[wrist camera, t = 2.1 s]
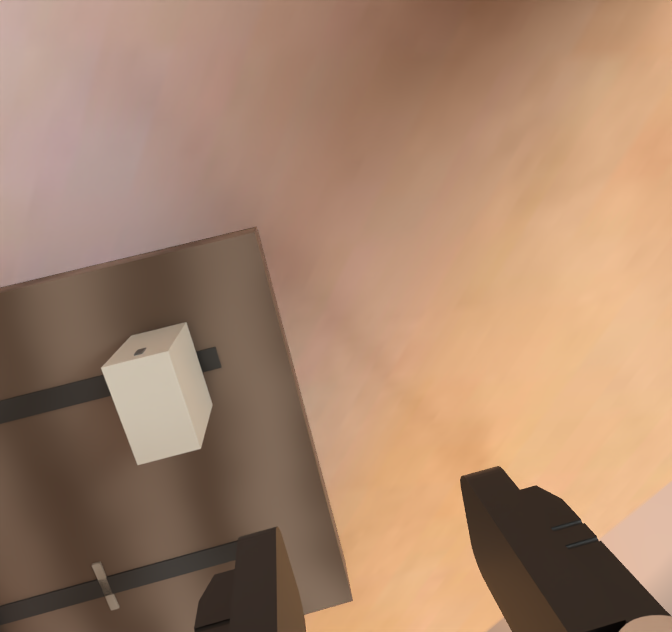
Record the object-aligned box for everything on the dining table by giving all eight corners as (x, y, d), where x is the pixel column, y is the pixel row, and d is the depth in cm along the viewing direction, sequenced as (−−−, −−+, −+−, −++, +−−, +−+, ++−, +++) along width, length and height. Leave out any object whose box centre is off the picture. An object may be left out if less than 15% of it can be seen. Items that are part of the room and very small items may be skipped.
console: (256, 226, 25) (254, 232, 22) (344, 560, 30) (353, 602, 27) (-237, 343, 23) (-311, 367, 20) (-51, 672, 29) (-88, 728, 26)
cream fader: (186, 320, 22) (167, 349, 18) (213, 405, 23) (201, 450, 19) (130, 334, 22) (100, 366, 18) (160, 419, 23) (138, 466, 19)
